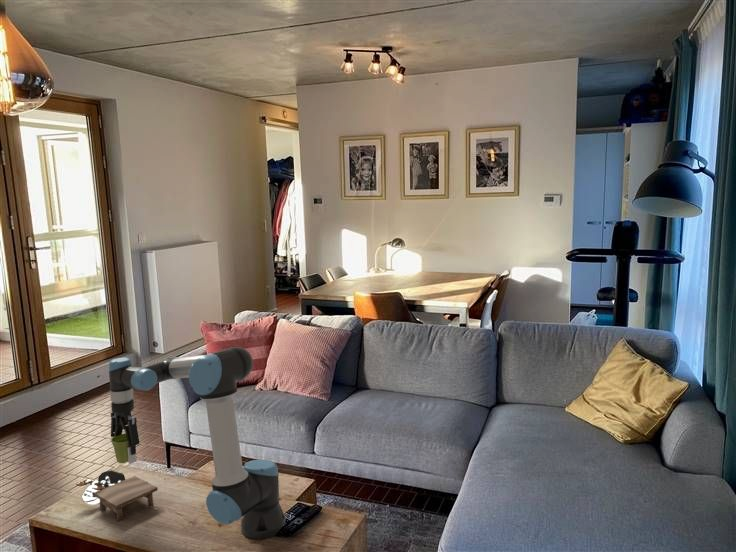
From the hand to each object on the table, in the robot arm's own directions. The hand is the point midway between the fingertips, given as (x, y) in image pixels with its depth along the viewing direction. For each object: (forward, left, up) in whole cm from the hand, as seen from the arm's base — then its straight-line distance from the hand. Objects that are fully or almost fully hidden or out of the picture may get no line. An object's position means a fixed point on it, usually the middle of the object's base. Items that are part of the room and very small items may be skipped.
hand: (126, 459), depth 199 cm
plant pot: (0, 0, 0) cm, 1 cm away
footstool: (+1, +1, -19) cm, 19 cm away
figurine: (+16, +2, -19) cm, 25 cm away
